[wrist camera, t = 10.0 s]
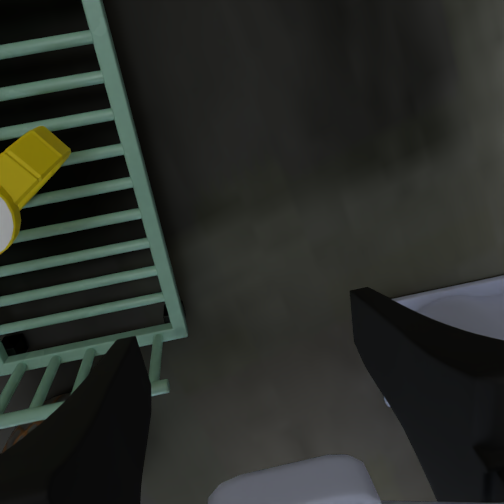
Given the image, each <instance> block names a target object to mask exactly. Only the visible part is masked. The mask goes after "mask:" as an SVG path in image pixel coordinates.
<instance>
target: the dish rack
mask: <svg viewBox="0 0 504 504" xmlns="http://www.w3.org/2000/svg"><path fill="white" fill-rule="evenodd" d="M76 1H78V2H80V3H82V4H83V8H84V12H85V15H86V19H87V23H88V26H89V30H85V31H80V32H74V33H68V34H62V35H56V36H50V37H44V38H39V39H33V40H27V41H21V42H15V43H9V44H3V45H0V60H1V59H7V58H13V57H18V56H24V55H30V54H36V53H42V52H47V51H53V50H59V49H65V48H70V47H76V46H82V45H88V44H94V48H95V51H96V55H97V59H98V62H99V66H100V70H99V71H93V72H87V73H82V74H76V75H70V76H65V77H59V78H53V79H48V80H42V81H36V82H31V83H25V84H19V85H14V86H8V87H2V88H0V101H6V100H11V99H17V98H23V97H28V96H34V95H40V94H45V93H51V92H57V91H62V90H68V89H73V88H79V87H85V86H90V85H96V84H102V83H104V84H105V88H106V91H107V95H108V98H109V102H110V106H111V108H108V109H102V110H97V111H91V112H86V113H80V114H75V115H69V116H64V117H58V118H53V119H47V120H42V121H36V122H31V123H25V124H20V125H14V126H9V127H3V128H0V141H2V140H8V139H13V138H19V137H22V136H23V135H24V134H25V133H27V132H28V131H30V130H32V129H34V128H36V127H38V126H44V127H46V128H47V129H48V130H49V131H50V132H52V131H57V130H63V129H68V128H73V127H79V126H84V125H90V124H95V123H101V122H106V121H112V120H115V124H116V127H117V131H118V135H119V138H120V142H121V143H120V144H115V145H109V146H104V147H98V148H93V149H88V150H82V151H77V152H72V153H71V154H70V155H69V157H68V158H67V160H66V161H65V162H64V163H63V164H62V165H61V167H62V166H67V165H72V164H78V163H83V162H88V161H94V160H99V159H104V158H110V157H115V156H120V155H124V156H125V160H126V163H127V167H128V171H129V174H130V177H126V178H120V179H115V180H110V181H104V182H99V183H94V184H89V185H83V186H78V187H73V188H68V189H62V190H57V191H52V192H46V193H41V194H36V195H34V196H33V197H32V198H31V199H30V200H29V202H28V203H27V204H26V205H25V206H24V207H23V208H22V209H24V208H29V207H34V206H39V205H44V204H50V203H55V202H60V201H65V200H71V199H76V198H81V197H86V196H92V195H97V194H102V193H107V192H113V191H118V190H123V189H128V188H133V189H134V192H135V196H136V200H137V203H138V207H139V208H136V209H131V210H126V211H120V212H115V213H110V214H105V215H100V216H95V217H89V218H84V219H79V220H74V221H69V222H64V223H58V224H53V225H48V226H43V227H38V228H33V229H28V230H22V231H19V234H18V236H17V237H16V239H15V240H14V242H13V243H18V242H23V241H29V240H34V239H39V238H44V237H49V236H54V235H59V234H64V233H70V232H75V231H80V230H85V229H90V228H95V227H100V226H106V225H111V224H116V223H121V222H126V221H131V220H136V219H141V218H142V221H143V225H144V229H145V232H146V236H147V238H142V239H137V240H132V241H127V242H122V243H117V244H111V245H106V246H101V247H96V248H91V249H86V250H81V251H76V252H71V253H66V254H61V255H56V256H51V257H46V258H41V259H36V260H30V261H25V262H20V263H15V264H10V265H5V266H0V277H5V276H10V275H15V274H20V273H25V272H30V271H35V270H40V269H45V268H50V267H55V266H60V265H65V264H70V263H75V262H80V261H85V260H90V259H95V258H100V257H105V256H110V255H115V254H120V253H125V252H130V251H135V250H140V249H145V248H150V250H151V254H152V257H153V261H154V266H149V267H144V268H139V269H134V270H129V271H124V272H119V273H114V274H109V275H104V276H99V277H94V278H90V279H85V280H80V281H75V282H70V283H65V284H60V285H55V286H50V287H45V288H40V289H35V290H30V291H25V292H20V293H15V294H10V295H5V296H0V307H3V306H8V305H13V304H18V303H23V302H28V301H33V300H37V299H42V298H47V297H52V296H57V295H62V294H67V293H72V292H77V291H82V290H87V289H92V288H97V287H102V286H107V285H112V284H117V283H121V282H126V281H131V280H136V279H141V278H146V277H151V276H156V275H157V276H158V279H159V283H160V286H161V290H162V292H159V293H154V294H149V295H144V296H139V297H134V298H129V299H124V300H119V301H115V302H110V303H105V304H100V305H95V306H90V307H85V308H80V309H75V310H71V311H66V312H61V313H56V314H51V315H46V316H41V317H36V318H31V319H27V320H22V321H17V322H12V323H7V324H2V325H0V335H4V334H9V333H13V332H18V331H23V330H28V329H33V328H38V327H43V326H47V325H52V324H57V323H62V322H67V321H72V320H77V319H81V318H86V317H91V316H96V315H101V314H106V313H111V312H115V311H120V310H125V309H130V308H135V307H140V306H145V305H150V304H154V303H159V302H164V301H165V305H164V316H163V318H164V321H165V324H162V325H157V326H152V327H147V328H142V329H138V330H133V331H128V332H123V333H118V334H114V335H109V336H104V337H99V338H94V339H90V340H85V341H80V342H75V343H70V344H66V345H61V346H56V347H51V348H46V349H42V350H37V351H32V352H27V350H28V345H27V343H26V341H25V339H24V336H23V334H17V335H12V336H7V337H4V338H3V340H2V341H1V340H0V376H4V375H8V374H12V375H11V377H10V378H9V380H8V382H7V384H6V386H5V387H4V389H3V391H2V393H1V395H0V429H4V428H9V427H13V426H18V425H22V424H27V423H32V422H36V421H41V420H45V419H47V418H48V417H49V416H50V415H51V414H52V413H53V412H54V411H55V410H56V409H57V408H58V407H59V406H60V405H61V404H62V403H63V402H64V401H61V402H56V403H52V404H47V405H43V404H44V401H45V399H46V396H47V394H48V392H49V389H50V387H51V384H52V382H53V380H54V377H55V375H56V372H57V370H58V368H59V365H60V364H61V363H65V362H70V361H75V360H80V359H83V360H82V363H81V366H80V369H79V372H78V375H77V377H76V380H75V383H74V386H73V389H72V392H71V394H72V393H73V392H74V391H75V390H76V388H77V387H78V386H79V385H80V384H81V383H82V382H83V381H84V380H85V378H86V377H87V376H88V375H89V373H90V370H91V366H92V363H93V360H94V357H95V356H98V355H103V354H106V352H107V351H108V350H109V349H110V347H111V346H112V345H113V344H114V342H115V341H116V340H117V339H121V338H126V337H131V336H136V338H137V342H138V345H139V347H141V346H146V345H151V344H152V352H151V361H150V369H149V379H150V382H151V396H156V395H161V394H165V393H169V392H170V384H169V381H168V379H163V380H160V368H161V357H162V345H163V342H165V341H170V340H174V339H179V338H184V337H187V336H188V328H187V324H186V313H185V310H184V306H183V302H182V301H180V297H179V293H178V289H177V285H176V282H175V278H174V274H173V270H172V266H171V262H170V259H169V255H168V251H167V247H166V243H165V239H164V236H163V232H162V228H161V224H160V220H159V216H158V212H157V209H156V205H155V201H154V197H153V193H152V189H151V186H150V182H149V178H148V174H147V170H146V166H145V162H144V159H143V155H142V151H141V147H140V143H139V139H138V136H137V132H136V128H135V124H134V120H133V116H132V112H131V109H130V105H129V101H128V97H127V93H126V89H125V86H124V82H123V78H122V74H121V70H120V66H119V62H118V59H117V55H116V51H115V47H114V43H113V39H112V36H111V32H110V28H109V24H108V20H107V16H106V13H105V9H104V5H103V1H102V0H76ZM13 243H12V244H13ZM26 352H27V353H26ZM46 366H48V367H47V369H46V371H45V373H44V375H43V378H42V380H41V382H40V384H39V386H38V389H37V391H36V393H35V395H34V397H33V400H32V402H31V404H30V406H29V408H28V409H24V410H19V411H15V412H10V413H5V414H3V413H4V411H5V410H6V408H7V406H8V404H9V402H10V400H11V398H12V396H13V394H14V392H15V390H16V388H17V386H18V384H19V383H20V381H21V379H22V377H23V375H24V373H25V371H27V370H32V369H37V368H42V367H46Z"/></svg>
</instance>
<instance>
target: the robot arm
mask: <svg viewBox="0 0 504 504" xmlns="http://www.w3.org/2000/svg"><path fill="white" fill-rule="evenodd" d="M350 299H351V311H352V323H353V335H354V342H355V345H356V347H357V349H358V352H359V354H360V356H361V358H362V361H363V363H364V365H365V367H366V368H367V370H368V372H369V373H370V375H371V376H372V378H373V380H374V381H375V383H376V385H377V386H378V388H379V389H380V391H381V392H382V394H383V396H384V401H385V403H386V405H387V406H388V407H391V408H392V410H393V411H394V413H395V415H396V416H397V418H398V420H399V421H400V423H401V425H402V427H403V428H404V430H405V432H406V435H407V437H408V439H409V441H410V443H411V445H412V447H413V449H414V451H415V453H416V455H417V457H418V459H419V462H420V464H421V466H422V468H423V470H424V472H425V474H426V477H427V479H428V481H429V483H430V485H431V488H432V490H433V492H434V495H435V497H436V499H437V501H438V502H427V501H381V500H380V498H379V496H378V493H377V491H376V489H375V486H374V484H373V482H372V480H371V477H370V475H369V473H368V471H367V469H366V467H365V465H364V463H363V461H360V460H358V459H356V458H354V457H352V456H350V455H348V454H335V455H324V456H319V457H315V458H310V459H306V460H302V461H297V462H293V463H289V464H284V465H280V466H276V467H271V468H267V469H262V470H258V471H254V472H249V473H245V474H241V475H238V476H236V477H233V478H231V479H229V480H227V481H224V482H222V483H221V484H220V485H219V486H218V487H217V488H216V489H215V490H214V492H213V493H212V494H211V495H210V496H209V497H208V504H504V275H502V276H498V277H493V278H488V279H483V280H479V281H474V282H469V283H464V284H460V285H455V286H450V287H446V288H441V289H436V290H431V291H427V292H422V293H417V294H412V295H408V296H403V297H398V298H393V299H390V298H388V297H386V296H384V295H382V294H381V293H379V292H377V291H375V290H373V289H371V288H369V287H365V288H360V289H356V290H351V291H350ZM150 418H151V382H150V379H149V376H148V373H147V370H146V367H145V364H144V360H143V357H142V354H141V351H140V348H139V345H138V342H137V338H136V336H131V337H126V338H121V339H117V340H116V341H115V342H114V344H113V345H112V346H111V347H110V349H109V350H108V351H107V352H106V354H105V355H104V356H103V357H102V359H101V360H100V361H99V363H98V364H97V365H96V366H95V367H94V369H93V370H92V371H91V372H90V374H89V375H88V376H87V377H86V378H85V380H84V381H83V382H82V383H81V384H80V385H79V386H78V387H77V388H76V390H75V391H74V392H73V393H72V394H71V395H70V396H69V397H68V398H67V399H66V400H65V401H64V402H63V403H62V404H61V405H60V406H59V407H58V408H57V409H56V410H55V411H54V412H53V413H52V414H51V415H50V416H49V417H48V418H47V419H45V420H44V421H43V422H42V423H41V424H40V425H38V426H37V427H36V428H35V429H33V430H32V431H31V432H30V433H28V434H27V435H26V436H25V437H23V438H22V439H21V440H19V441H18V442H17V443H16V444H14V445H13V446H11V447H10V448H9V449H7V450H6V451H4V452H3V453H1V454H0V504H140V496H141V481H142V472H143V466H144V459H145V452H146V446H147V439H148V432H149V425H150Z"/></svg>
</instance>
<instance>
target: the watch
mask: <svg viewBox="0 0 504 504" xmlns="http://www.w3.org/2000/svg"><path fill="white" fill-rule="evenodd" d="M70 154H71V149H70V148H69V147H68V146H66V145H65V144H64V143H63V142H62V141H61V140H59V139H58V138H57V137H56V136H55V135H54V134H53V133H51V132H50V131H49V130H48V129H47V128H46V127H44V126H38V127H36V128H34V129H32V130H30V131H28V132H27V133H25V134H24V135H23V136H22V137H20V138H19V139H18V140H17V141H15V142H14V143H13V144H12V145H10V146H9V147H8V148H6V149H5V151H4V152H2V153H1V154H0V254H1V253H3V252H4V251H5V250H7V249H8V248H9V246H10V245H11V244H12V243H13V242H14V240H15V239H16V237H17V236H18V234H19V230H20V225H21V216H20V210H21V209H22V208H23V207H24V206H25V205H26V204H27V203H28V202H29V200H30V199H31V198H32V197H33V196H34V195H35V194H36V193H37V192H38V191H39V190H40V189H41V188H42V186H43V185H44V184H45V183H46V182H47V181H48V180H49V179H50V178H51V177H52V176H53V175H54V173H55V172H56V171H57V170H58V169H59V168H60V167H61V165H62V164H63V163H64V162H65V161H66V160H67V158H68V157H69V155H70Z"/></svg>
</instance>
